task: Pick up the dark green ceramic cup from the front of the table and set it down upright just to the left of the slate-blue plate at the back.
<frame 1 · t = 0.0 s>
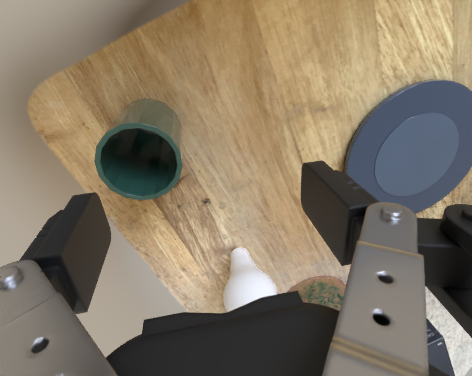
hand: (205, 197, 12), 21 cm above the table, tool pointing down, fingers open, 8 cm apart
small box: (376, 299, 50), on the table
cup: (150, 130, 30), on the table
lightbulb: (237, 250, 40), on the table
plate: (409, 153, 37), on the table
mug: (303, 314, 49), on the table
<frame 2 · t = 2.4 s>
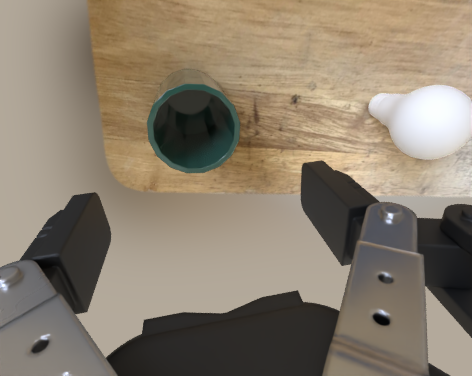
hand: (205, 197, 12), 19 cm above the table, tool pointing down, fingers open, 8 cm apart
cup: (190, 104, 28), on the table
lightbulb: (373, 103, 32), on the table
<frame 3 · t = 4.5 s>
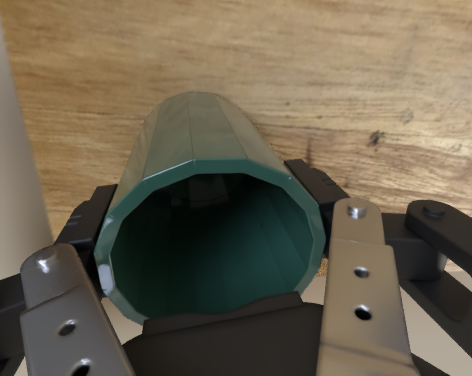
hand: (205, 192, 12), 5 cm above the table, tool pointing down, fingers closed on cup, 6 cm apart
cup: (199, 151, 16), on the table, touching gripper
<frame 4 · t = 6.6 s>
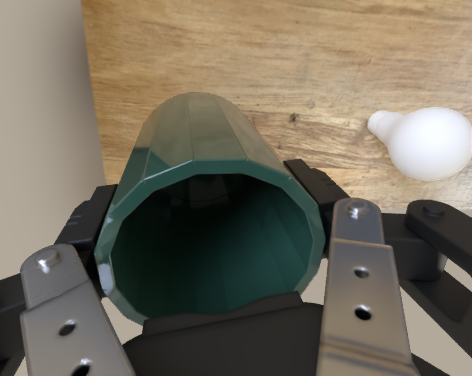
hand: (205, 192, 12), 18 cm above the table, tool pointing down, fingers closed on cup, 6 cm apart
cup: (199, 152, 16), point 13 cm above the table, touching gripper
lightbulb: (373, 119, 32), on the table
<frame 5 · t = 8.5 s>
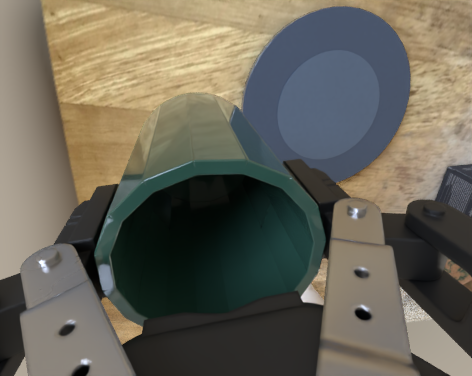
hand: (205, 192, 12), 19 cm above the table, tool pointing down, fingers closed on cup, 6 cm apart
cup: (199, 152, 16), point 14 cm above the table, touching gripper
lightbulb: (300, 281, 43), on the table
plate: (323, 106, 31), on the table
mug: (418, 255, 45), on the table
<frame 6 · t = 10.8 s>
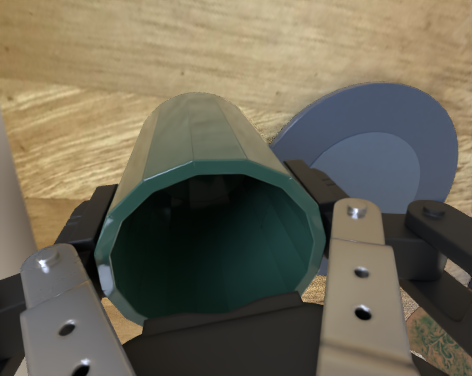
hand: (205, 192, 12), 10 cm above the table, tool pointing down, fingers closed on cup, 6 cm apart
cup: (199, 152, 16), point 5 cm above the table, touching gripper
plate: (350, 188, 26), on the table
mug: (447, 330, 39), on the table
when the fingers open (5 cm above the table, at t = 12.8 s): cup stays where it is, on the table.
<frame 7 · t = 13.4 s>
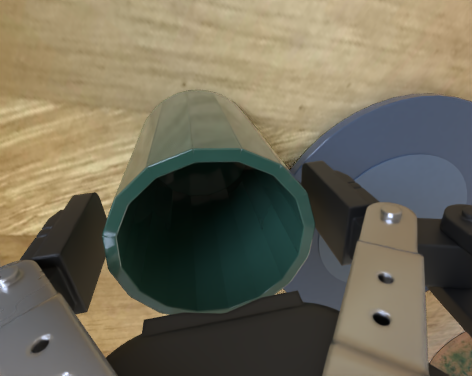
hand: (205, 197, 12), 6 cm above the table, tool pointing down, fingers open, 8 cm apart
cup: (199, 147, 17), on the table
plate: (382, 217, 22), on the table
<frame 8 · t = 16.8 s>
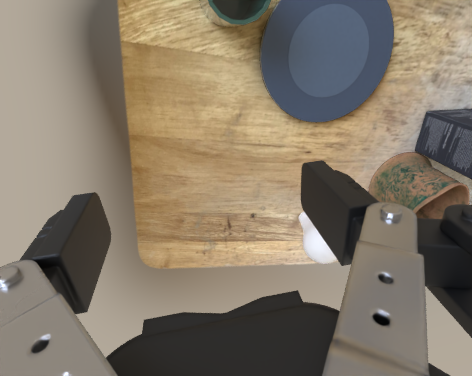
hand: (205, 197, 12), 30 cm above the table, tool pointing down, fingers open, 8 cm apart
small box: (453, 129, 48), on the table
lightbulb: (303, 213, 51), on the table
plate: (324, 53, 39), on the table
mug: (403, 194, 53), on the table
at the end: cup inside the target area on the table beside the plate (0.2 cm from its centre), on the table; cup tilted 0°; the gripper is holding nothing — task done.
